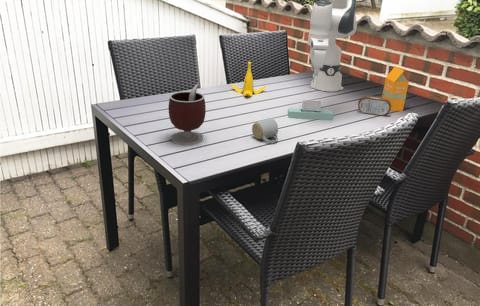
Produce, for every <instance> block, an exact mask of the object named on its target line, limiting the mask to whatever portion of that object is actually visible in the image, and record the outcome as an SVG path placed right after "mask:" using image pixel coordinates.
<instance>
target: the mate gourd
mask: <svg viewBox="0 0 480 306" xmlns="http://www.w3.org/2000/svg"><path fill="white" fill-rule="evenodd" d="M198 87H199V83H197V84H195V85H194V86H193V87H192V89H191V90H190V91H179V92H178V91H177V92H174V93H172V94H170V95H169V100H168V116H169V120H170V123H171V124H172V125H173V127H175V128H176V129H177V130H181V131H179V132H176V133H174V134H172V135H171V141H172V142H173V143H174V144H177V145H181V146H193V145H194V146H195V145H197V144H200V143H202V142H203V141H204V135H202V134H201V133H200V132H196V131H194V130H197V129H199V128H200V127H201V126H202V125H203V123H204V122H205V119H206V118H205V117H206V109H207V108H206V101H205V95H204V94H202V93H200V92H197V91H198V90H197V89H198Z"/></svg>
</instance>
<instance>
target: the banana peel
mask: <svg viewBox="0 0 480 306" xmlns="http://www.w3.org/2000/svg"><path fill="white" fill-rule="evenodd" d="M251 67H252V62H251V61H247V71H246V74H245V77H244V80H243V87H242V88H238V86H236V85H234V84H233V83H231V85H230V86H231V87H232V88H233V89H234V91H235V92H236V93H239V94H242V96H243V97H253V95H254V94H255V95H257V94H260V93H262V92H263V91H264V90H265V89H266V88H267V85H265V84H264V85H263V86H262V87H261V88H258V89H254V77H253V74H252V71H251V70H252V69H251Z"/></svg>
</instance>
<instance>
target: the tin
mask: <svg viewBox="0 0 480 306" xmlns="http://www.w3.org/2000/svg"><path fill="white" fill-rule="evenodd" d="M357 108H358V110H359V111H360V112H361V113H362V114H367V115H374V116H379V117H383V116H387V115H388V114H389V113H390V112H391V111H390V109H391V103H390V101H389V100H387V99H385V98H382V97H378V96H372V95H364V96H362V97H360V99H359V100H358V102H357Z"/></svg>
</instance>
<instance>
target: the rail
mask: <svg viewBox="0 0 480 306" xmlns="http://www.w3.org/2000/svg"><path fill="white" fill-rule="evenodd" d="M287 116H288V117H287V118H289V119H302V120H322V121H323V120H324V121H325V120H326V121H333V120H334V112H333V110H331V109H320V111H319V112H315V111H310V110H306V112H302V108H299V107H298V108H297V107H294V108H293V107H288V108H287Z"/></svg>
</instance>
